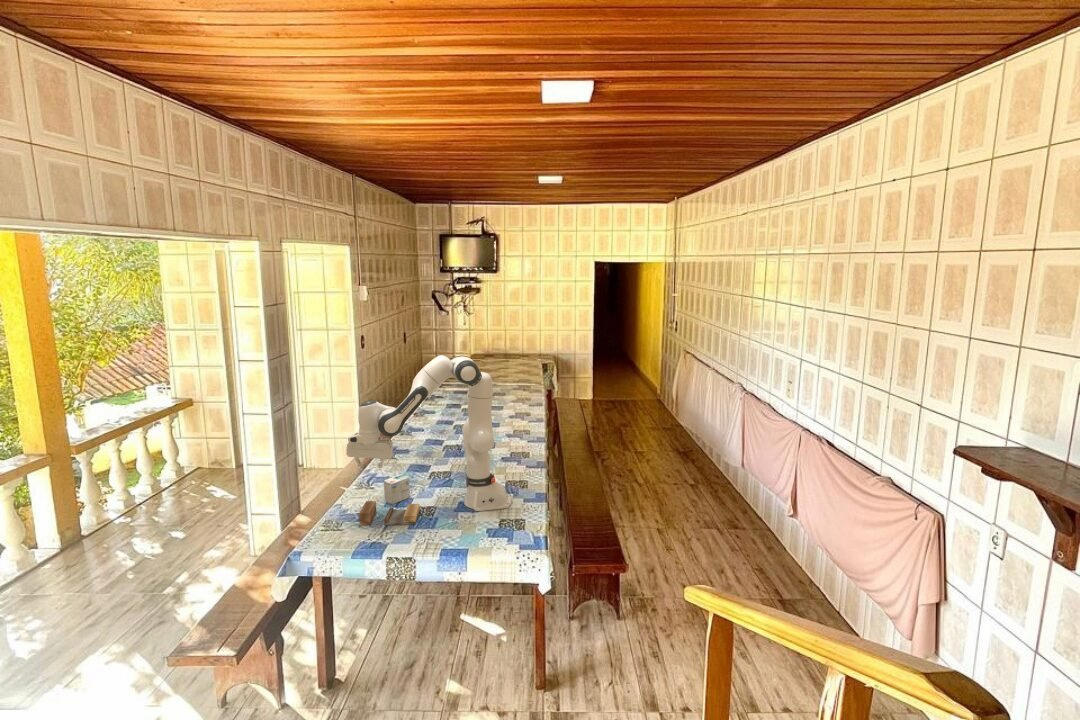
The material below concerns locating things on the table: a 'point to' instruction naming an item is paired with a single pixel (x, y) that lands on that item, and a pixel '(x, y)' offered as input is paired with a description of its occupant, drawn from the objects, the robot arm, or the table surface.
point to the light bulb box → (396, 489)
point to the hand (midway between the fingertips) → (370, 466)
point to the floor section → (403, 515)
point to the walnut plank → (367, 513)
